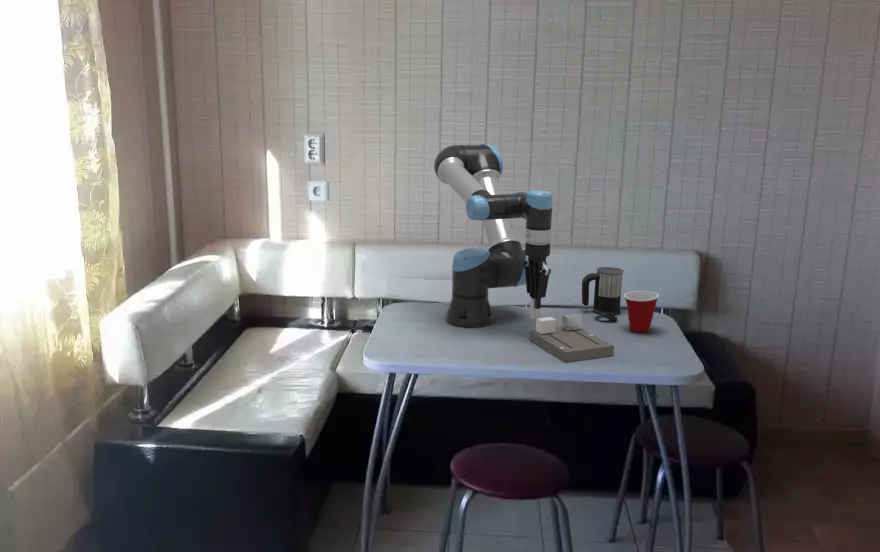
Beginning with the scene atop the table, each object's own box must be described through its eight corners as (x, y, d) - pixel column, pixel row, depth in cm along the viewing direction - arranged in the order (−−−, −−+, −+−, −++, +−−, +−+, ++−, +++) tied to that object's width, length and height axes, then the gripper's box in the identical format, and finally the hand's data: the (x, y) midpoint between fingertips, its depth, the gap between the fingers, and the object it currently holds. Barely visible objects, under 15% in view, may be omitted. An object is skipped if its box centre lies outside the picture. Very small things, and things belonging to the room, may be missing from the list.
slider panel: (529, 339, 249) (529, 330, 249) (574, 334, 255) (575, 324, 255) (565, 362, 231) (565, 352, 230) (613, 355, 237) (614, 345, 236)
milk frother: (610, 306, 285) (613, 265, 282) (638, 319, 271) (642, 275, 268) (575, 311, 279) (578, 269, 276) (603, 324, 266) (606, 280, 262)
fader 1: (535, 331, 247) (536, 318, 246) (550, 329, 249) (551, 316, 248) (540, 334, 244) (541, 321, 243) (555, 332, 246) (556, 319, 245)
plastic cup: (618, 324, 265) (621, 289, 262) (652, 325, 265) (655, 290, 262) (623, 335, 255) (626, 298, 252) (659, 336, 254) (662, 299, 251)
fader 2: (561, 327, 250) (562, 315, 249) (575, 326, 252) (576, 313, 251) (567, 330, 248) (567, 318, 247) (581, 329, 250) (581, 316, 249)
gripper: (516, 239, 251) (514, 313, 256) (537, 247, 239) (534, 324, 245) (538, 237, 254) (535, 311, 259) (559, 245, 242) (556, 322, 248)
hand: (535, 317), depth 252 cm, fingers closed
